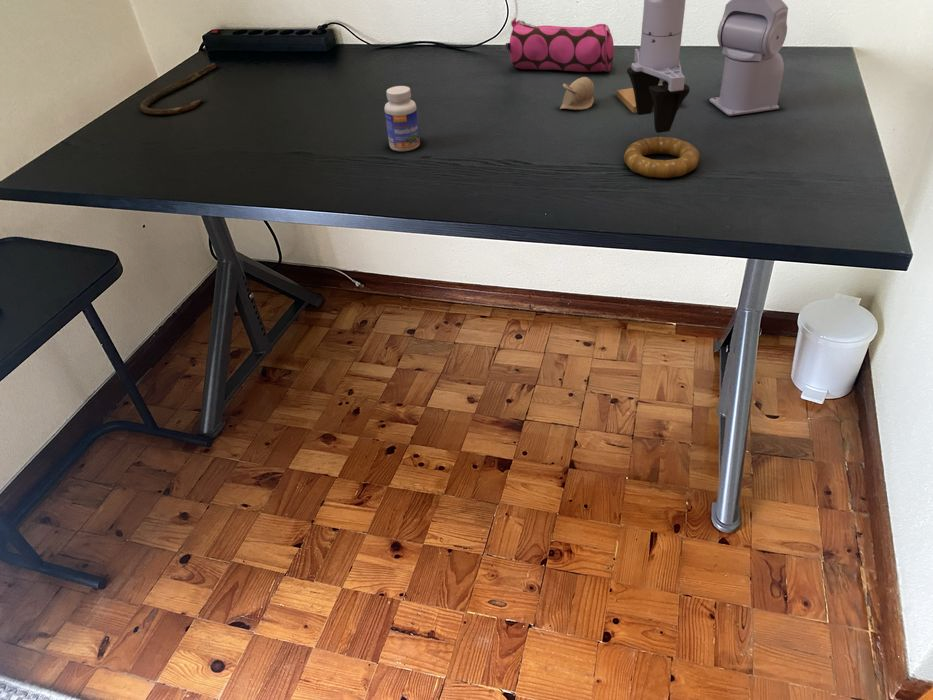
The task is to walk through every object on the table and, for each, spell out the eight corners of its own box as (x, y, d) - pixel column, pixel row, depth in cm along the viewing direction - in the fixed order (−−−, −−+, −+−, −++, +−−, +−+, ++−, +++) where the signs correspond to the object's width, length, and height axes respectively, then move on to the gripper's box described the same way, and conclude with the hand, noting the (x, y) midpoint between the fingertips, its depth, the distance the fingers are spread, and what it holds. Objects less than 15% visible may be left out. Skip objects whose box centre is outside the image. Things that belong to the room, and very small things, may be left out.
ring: (680, 145, 119) (681, 130, 117) (710, 174, 110) (712, 158, 109) (614, 155, 118) (615, 140, 116) (639, 185, 109) (640, 169, 108)
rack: (661, 90, 139) (664, 56, 135) (680, 106, 132) (684, 71, 128) (616, 96, 138) (618, 62, 134) (633, 113, 131) (635, 78, 127)
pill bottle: (396, 155, 124) (389, 98, 118) (384, 144, 128) (376, 88, 122) (425, 147, 126) (419, 90, 120) (413, 137, 130) (406, 81, 123)
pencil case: (505, 76, 151) (503, 25, 145) (516, 61, 158) (515, 11, 152) (608, 79, 146) (611, 26, 139) (615, 63, 153) (618, 12, 146)
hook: (135, 119, 146) (132, 112, 145) (162, 73, 169) (160, 66, 168) (198, 113, 147) (196, 105, 146) (217, 67, 170) (215, 61, 169)
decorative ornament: (600, 103, 136) (602, 74, 133) (568, 116, 132) (569, 86, 129) (584, 98, 138) (585, 69, 135) (553, 111, 135) (553, 81, 131)
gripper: (618, 21, 111) (613, 109, 119) (654, 48, 100) (645, 143, 108) (662, 16, 112) (654, 103, 120) (703, 42, 100) (690, 137, 109)
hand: (653, 122), depth 114 cm, fingers open, 7 cm apart
